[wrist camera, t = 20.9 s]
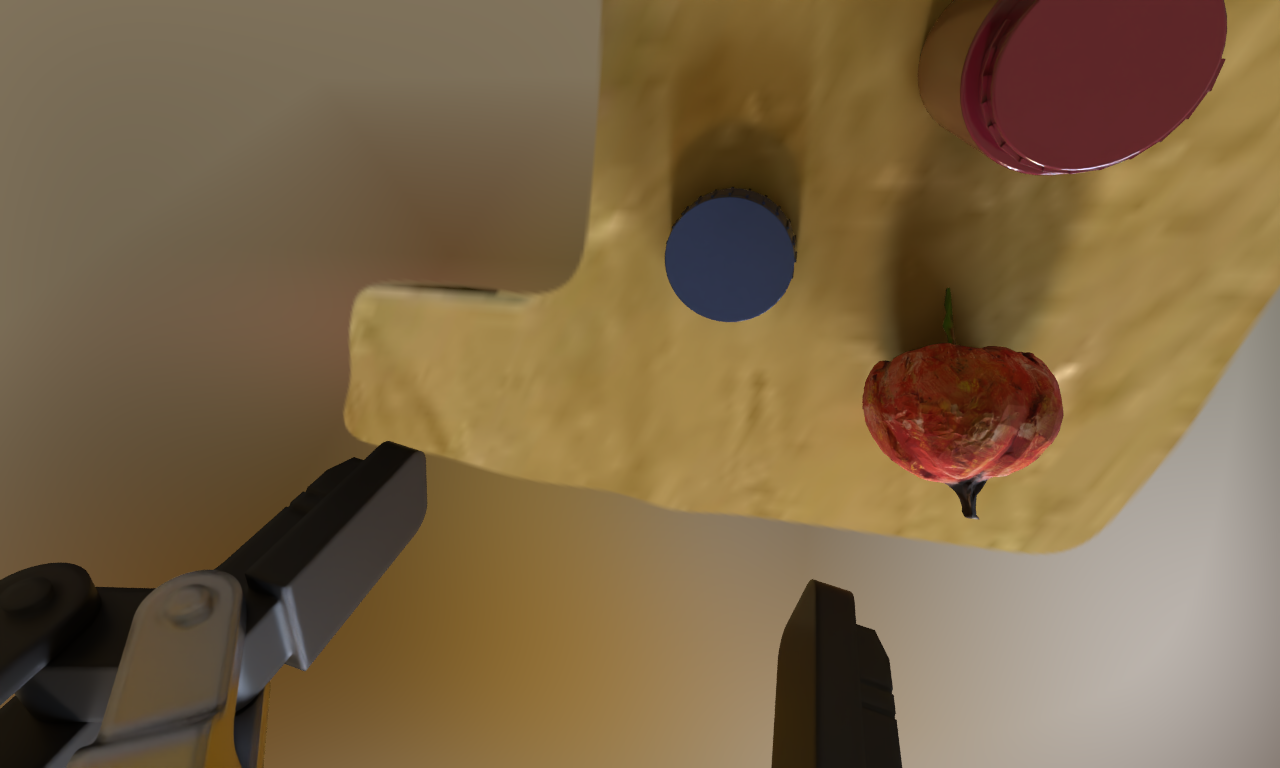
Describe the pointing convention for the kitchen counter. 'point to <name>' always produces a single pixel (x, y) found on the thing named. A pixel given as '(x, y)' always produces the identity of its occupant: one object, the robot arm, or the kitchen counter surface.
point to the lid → (731, 255)
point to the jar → (1069, 77)
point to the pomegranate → (962, 412)
